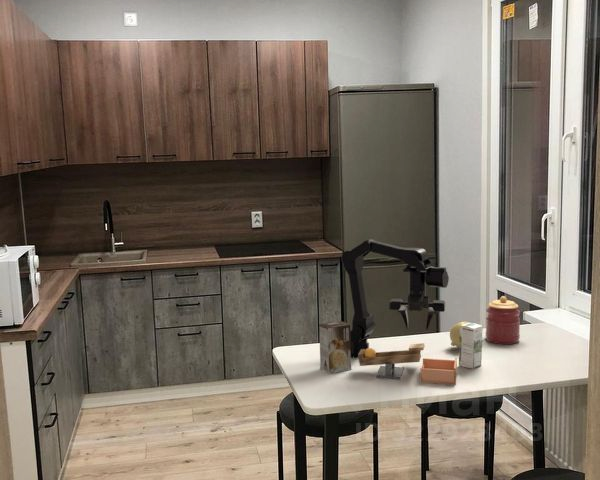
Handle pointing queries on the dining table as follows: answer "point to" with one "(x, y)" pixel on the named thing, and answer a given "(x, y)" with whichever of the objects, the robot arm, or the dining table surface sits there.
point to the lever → (393, 356)
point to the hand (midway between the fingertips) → (417, 329)
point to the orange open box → (439, 371)
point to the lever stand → (390, 372)
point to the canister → (502, 322)
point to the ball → (369, 353)
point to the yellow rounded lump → (456, 334)
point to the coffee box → (335, 347)
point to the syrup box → (470, 345)
